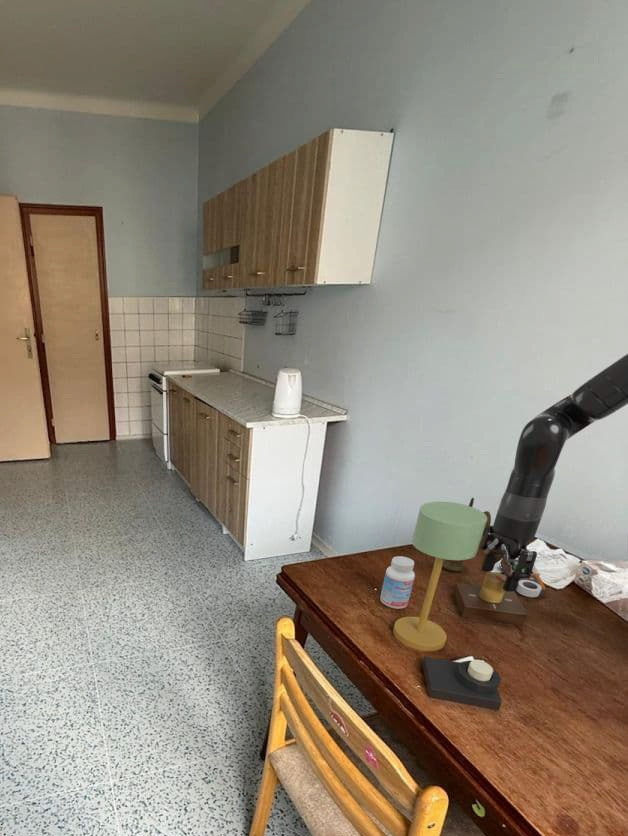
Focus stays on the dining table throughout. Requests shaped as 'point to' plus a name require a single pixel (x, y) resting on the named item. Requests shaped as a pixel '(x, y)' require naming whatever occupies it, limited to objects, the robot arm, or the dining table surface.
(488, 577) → the dimmer knob
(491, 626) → the dining table surface
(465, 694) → the switch base
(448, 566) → the kendama
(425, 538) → the table lamp
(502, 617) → the dimmer
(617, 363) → the robot arm
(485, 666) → the lamp switch
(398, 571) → the pill bottle
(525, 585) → the electronic device
